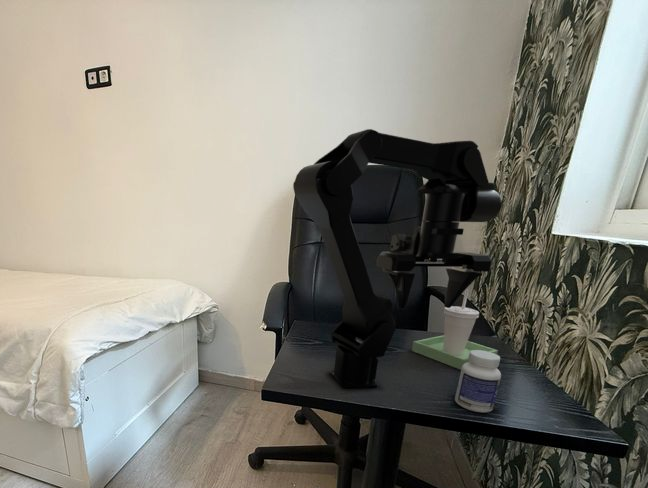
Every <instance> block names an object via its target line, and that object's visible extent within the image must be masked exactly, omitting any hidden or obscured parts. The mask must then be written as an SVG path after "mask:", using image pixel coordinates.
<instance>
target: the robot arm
mask: <svg viewBox="0 0 648 488" xmlns="http://www.w3.org/2000/svg"><path fill="white" fill-rule="evenodd" d="M369 164H374V165H380V166H387V167H391V168H392V167H393V168H399V169H404V170H411V171H413V172H416V174H417V175H418V177H421V178H422V179H426V180H427V181H426V182H425V183H424V184H423V185H421V186H420V187H419V188H418V189H417V190H416V193H417V194H419V195H420V194H421V195H426V196H425V201H424V202H425V203H424V208H423V213H422V218H421V219H422V220H421V225H420V226H416V228H415V229H414V234H413V236H407V235H406V234H405V233H395V234H393V235H392V236H391V241H390V251H381V252H380V254H379V255H378V256H377V258H376V265H375V267H376V268H380V269H382V272H384V273H386V274H387V273H388V276H390V278H391V280H392V283H393V287H394V290H395V294H396V299H397V303H398V307H399V308H400V309H405V308H406V305H407V303H408V300H409V296H410V293H411V291H412V290H411V289H412V286H413V282H414V279H415V276H416V273H415V272H412V271H413V269H414V268H416V267H421V268H422V267H425V268H426V267H431V268H432V267H434V268H435V267H438V268H442V267H443V268H445V271H446V274H447V277H448V279H447V286H446V292H445V296H444V308H445V307H447V308H450V307H451V306H454V304H455V303H456V302H457V300H458V299H459V298H460V296H461V295H462V294H463V293H465V290H466V289H468V287H470V285H472V284H473V283H474V282H475V280H476V279H477V278H479V277H482V276H483V274H484V273H485V272H489V273H490V271H491V267H492V264H493V263H492V259H491V257H490V256H489V255H488V254H483V253H475V252H457V251H456V252H455V247H456V242H457V237H458V236H463V234H464V230H465V229H464V228H461V227H459V226H460V223H487V222H489V221H492V220H493V219H494V218H495V217H497V216H498V215H499V213H500V212H501V209H502V207H503V202H502V198H501V195H500V194H499V193H498V192H497V191H496V190H494V189H495V185H496V183H494V182H489V178H488V174H487V171H486V167H485V164H484V161H483V158H482V153H481V152H480V149H479V145H478V143H477V142H475V141H473V140H455V141H448V142H447V141H446V142H436V143H435V142H428V141H423V140H418V139H412V138H408V137H402V136H399V135H393V134H388V133H383V132H379V131H377V130H375V129H372V128H367V129H363V130H361V131H357V132H354V133H351V134H349V135H347V136H346V138H345V139H343V140H342V141H341V142H340V143H339V144H338V145H337V146H335V147H334V148H333V149H331V150H330V151H328V152H327V153H326V154H324V155H323V156H321V157H320V158H319V159H318V160H316V161H315V162H314V163H313V164H310V165H307V166H303V168H302V169H299V171H298V173H297V174H296V176H295V180H294V181H293V184H292V185H293V186H292V188H293V193H294V196H295V198H296V199H297V201H298V202H299V205H300V206H301V207H302V209H303V211H304V213H306V215H307V216H308V217H309V218H310V219H311V220H312V221H313V223H315V224H316V226H317V227H318V229H319V231H320V235H321V237H322V240H323V243H324V245H325V248H326V251H327V254H328V257H329V259H330V262H331V265H332V268H333V270H334V273H335V276H336V279H337V281H338V285H339V288H340V291H341V293H342V295H343V299H344V303H343V307H342V310H341V314H342V320H341V321H340V322H339V323H338V324H337V325H336V327H335V328H333V329H332V331H331V332H330V338H331V342H332V343H333V344H336V352H335V358H334V359H335V360H334V367H333V369H331V370H330V371H329V374H330V376H332V378H333V379H335V381H336V382H337V383H338V384H339V385H340V387H341V388H343V389H361V388H362V389H363V388H365V389H366V388H377V387H378V383H377V382H376V381H375V379H376V378H377V370H378V365H379V359H378V358H381V357H384V356H385V355H386V351H387V349H388V347H389V344H390V342H391V341H392V338H393V336H394V334H395V331H396V322H395V321H397V320H398V317H397V316H396V315H395V313H394V309H393V303H392V301H391V298H386V297H384V296H380V295H377V294H375V291H374V289H373V286H372V285H373V284H372V282H371V279H370V276H369V272H368V270H367V267H366V263H365V260H364V258H363V257H364V256H363V254H362V250H361V248H360V245H359V241H358V238H357V235H356V232H355V229H354V226H353V223H352V220H351V209H352V207H353V201H354V192H353V184H354V183H356V182H357V180H358V179H359V178H361V176H362V175H363V174H364V172H365V170H366V169H367V167H368V165H369ZM483 272H484V273H483Z"/></svg>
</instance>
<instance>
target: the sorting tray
mask: <svg viewBox="0 0 648 488" xmlns="http://www.w3.org/2000/svg"><path fill="white" fill-rule="evenodd" d="M443 343H444V334H443V335H439V336H433V337H428V338H424V339H419V340H414V341H413V342H412V348H411V352H413V353H417V354H419V355H420V356H423V357H426V358H429V359H431V360H434V361H436V362H440V363H442V364H444V365H447V366H449V367H452V368H455V369H457V370H459V371H461V368H462V366H463V364H465V363H468V362H470V361H469V360H468V359H469V358H468V357H469V353H470V351H472V350H482V351H487V352H491V353H494V354H496V355H498V352H499V350H498V349H495V348H492V347H489V346H485V345H482V344H479V343H475V342H473V341H470V340H468V341H467V344H466V347H465V349H464V352H463V354H462V355H452V354H449V353H447V352H444V351H443Z"/></svg>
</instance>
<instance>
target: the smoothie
mask: <svg viewBox="0 0 648 488" xmlns="http://www.w3.org/2000/svg"><path fill="white" fill-rule="evenodd" d="M468 296H469V289H468V288H466V289H465V291H464V295H463V298H462V299H463V300H462V304H461V306H457V305H456V306H454V305H452V306H451V307H450V308H447V307H445V306H444V310H443V313H444V325H443V326H444V327H443V335H444V343H443V351H444V352H447V353H449V354H452V355H462V354H463V352H464V349H465V347H466V344H467V341H469V339H470V337H471V333H472V331H473V328H474V325H475V324H476V320H477V319H479V317H480V312H479V311H478V310H476V309H473V308H471V307H466V304H467V299H468Z"/></svg>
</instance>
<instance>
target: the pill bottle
mask: <svg viewBox="0 0 648 488" xmlns="http://www.w3.org/2000/svg"><path fill="white" fill-rule="evenodd" d="M468 358H469V359H468V360H469V361H470V362H468V363H465V364H463V366H462V368H461V370H460V373H459V378H458V383H457V388H456V391H455V396H454V401H455V403H456V404H457V405H458V406H459V407H462V408H464V409H465V410H469V411H471V412H475V413H483V414H484V413H490V412H492V411H493V410H494V406H495V404H496V403H495V402H496V399H497V394H498V391H499V387H500V382H501V379H502V373H501V371H500V370H499V369H498V367H499V365H500V362H501V356H500V355H499V354H497V355H496V354H494V353H491V352H487V351H482V350H472V351H470V353H469V357H468Z"/></svg>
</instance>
